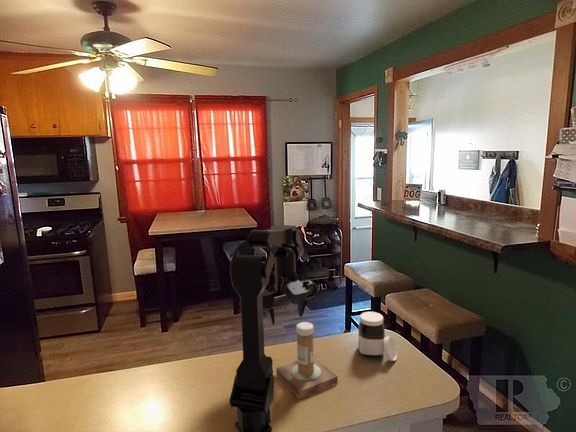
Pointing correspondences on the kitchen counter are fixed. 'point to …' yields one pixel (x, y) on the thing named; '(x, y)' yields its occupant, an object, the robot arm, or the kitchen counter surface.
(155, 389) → the kitchen counter surface
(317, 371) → the walnut plinth
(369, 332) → the spread jar
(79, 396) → the kitchen counter surface
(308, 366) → the sprinkles bottle
